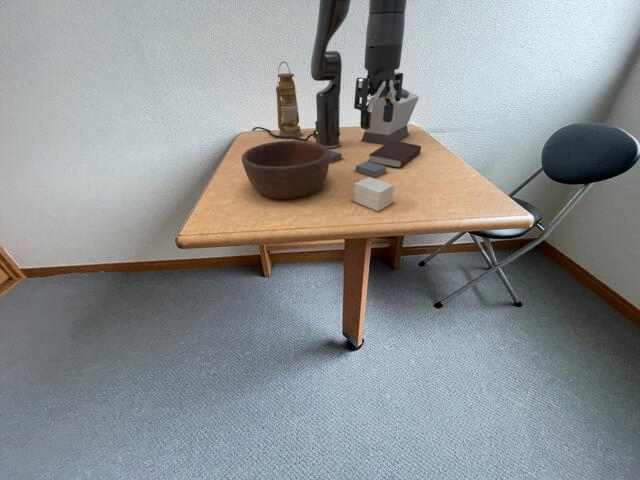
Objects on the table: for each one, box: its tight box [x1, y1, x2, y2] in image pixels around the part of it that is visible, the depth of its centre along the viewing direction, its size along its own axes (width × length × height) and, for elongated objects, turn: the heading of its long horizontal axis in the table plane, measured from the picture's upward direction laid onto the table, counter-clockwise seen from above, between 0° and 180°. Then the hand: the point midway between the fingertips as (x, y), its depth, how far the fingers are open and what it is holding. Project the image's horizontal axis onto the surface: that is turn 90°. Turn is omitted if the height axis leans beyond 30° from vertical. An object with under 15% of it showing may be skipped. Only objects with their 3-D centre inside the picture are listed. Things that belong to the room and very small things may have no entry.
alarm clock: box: [361, 87, 420, 145], centre depth 119 cm, size 20×16×20 cm
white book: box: [354, 176, 395, 200], centre depth 71 cm, size 8×6×2 cm
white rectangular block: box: [353, 190, 394, 212], centre depth 73 cm, size 8×6×3 cm
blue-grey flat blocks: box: [329, 149, 387, 178], centre depth 97 cm, size 28×6×2 cm, turn 43°
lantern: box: [275, 61, 302, 138], centre depth 125 cm, size 15×10×30 cm
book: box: [368, 141, 422, 168], centre depth 101 cm, size 12×19×3 cm, turn 144°
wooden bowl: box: [241, 140, 331, 200], centre depth 81 cm, size 25×25×10 cm
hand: (376, 125), depth 66 cm, fingers open, 8 cm apart
